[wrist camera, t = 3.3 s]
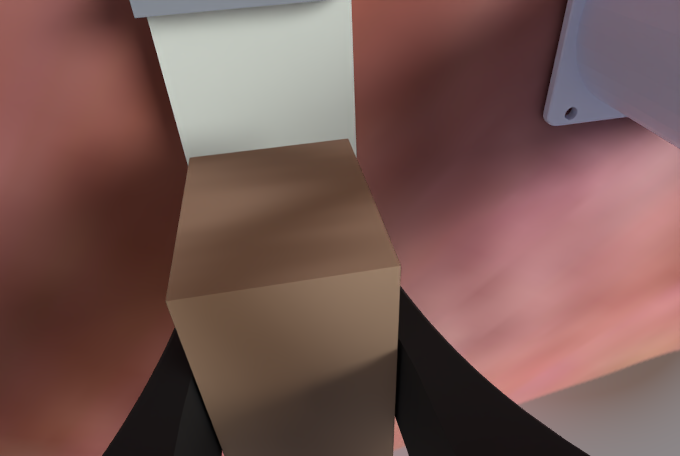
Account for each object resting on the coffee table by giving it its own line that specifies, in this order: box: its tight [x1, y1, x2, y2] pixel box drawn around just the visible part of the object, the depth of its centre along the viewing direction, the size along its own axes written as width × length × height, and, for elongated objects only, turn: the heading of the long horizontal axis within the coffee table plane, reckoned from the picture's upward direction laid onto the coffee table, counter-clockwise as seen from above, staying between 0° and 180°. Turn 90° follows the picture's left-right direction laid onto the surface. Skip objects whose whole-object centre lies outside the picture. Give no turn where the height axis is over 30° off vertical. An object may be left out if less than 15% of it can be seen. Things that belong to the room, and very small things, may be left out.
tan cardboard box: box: [165, 139, 401, 456], centre depth 12 cm, size 4×8×5 cm, turn 3°
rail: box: [130, 0, 357, 165], centre depth 19 cm, size 6×24×6 cm, turn 3°
